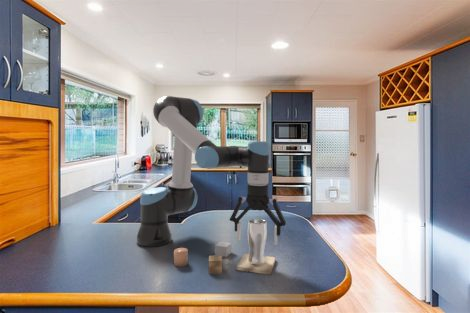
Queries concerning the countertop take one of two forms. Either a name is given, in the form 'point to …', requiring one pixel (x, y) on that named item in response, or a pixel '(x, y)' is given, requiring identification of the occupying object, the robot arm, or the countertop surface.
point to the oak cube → (215, 264)
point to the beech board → (263, 268)
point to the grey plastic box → (223, 248)
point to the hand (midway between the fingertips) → (257, 242)
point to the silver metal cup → (257, 240)
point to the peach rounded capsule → (180, 257)
